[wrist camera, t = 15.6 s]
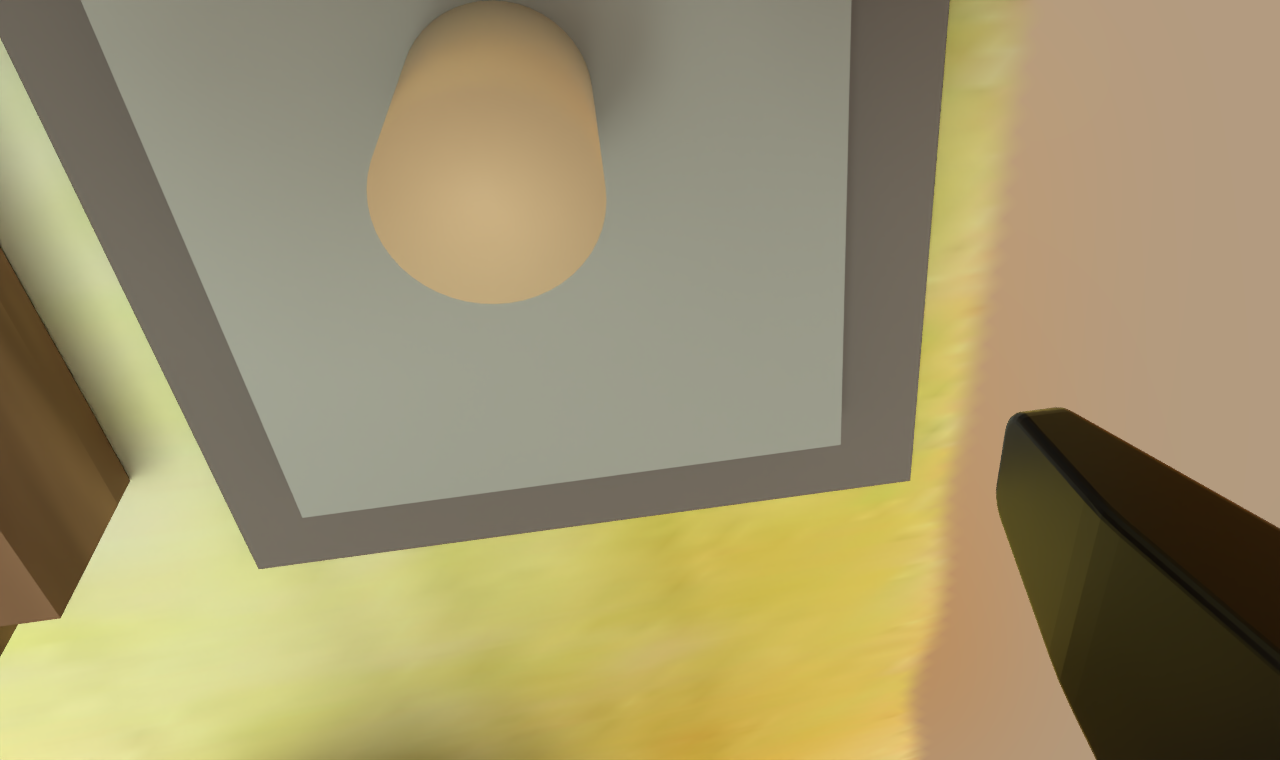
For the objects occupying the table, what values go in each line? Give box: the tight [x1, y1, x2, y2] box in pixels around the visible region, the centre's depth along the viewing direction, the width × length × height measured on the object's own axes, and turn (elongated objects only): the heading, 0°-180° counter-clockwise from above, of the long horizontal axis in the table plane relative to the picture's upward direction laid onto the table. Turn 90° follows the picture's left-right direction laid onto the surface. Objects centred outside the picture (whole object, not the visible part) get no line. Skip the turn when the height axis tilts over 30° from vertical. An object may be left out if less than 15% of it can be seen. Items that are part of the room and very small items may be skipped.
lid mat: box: [0, 0, 950, 569], centre depth 17 cm, size 16×22×1 cm
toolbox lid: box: [81, 0, 851, 518], centre depth 15 cm, size 12×17×5 cm
